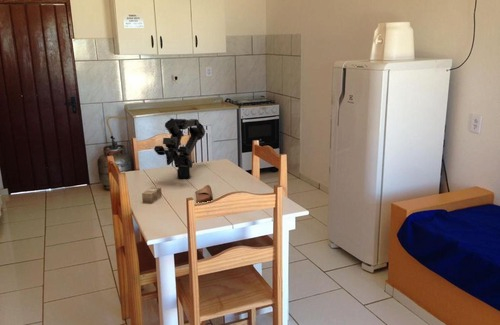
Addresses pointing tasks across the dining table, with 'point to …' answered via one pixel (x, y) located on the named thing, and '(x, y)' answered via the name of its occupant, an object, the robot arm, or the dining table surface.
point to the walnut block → (151, 195)
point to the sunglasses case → (204, 194)
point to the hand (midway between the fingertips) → (167, 164)
